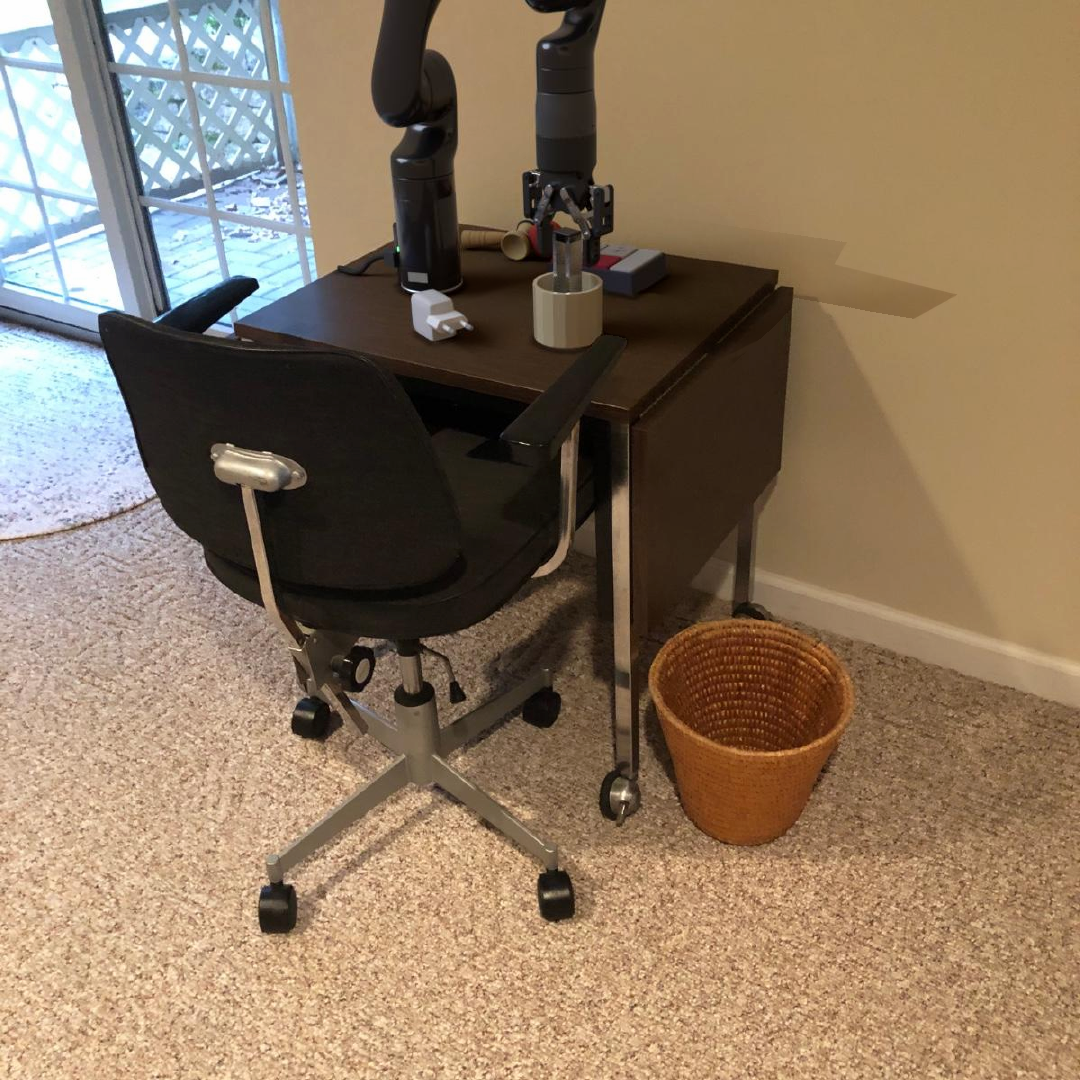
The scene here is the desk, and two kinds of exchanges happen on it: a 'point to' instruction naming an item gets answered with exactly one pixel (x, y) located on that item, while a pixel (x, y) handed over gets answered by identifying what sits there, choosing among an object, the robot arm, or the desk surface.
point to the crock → (567, 312)
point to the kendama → (508, 240)
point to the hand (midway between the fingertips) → (568, 259)
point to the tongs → (567, 260)
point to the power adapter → (436, 315)
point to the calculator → (626, 268)
